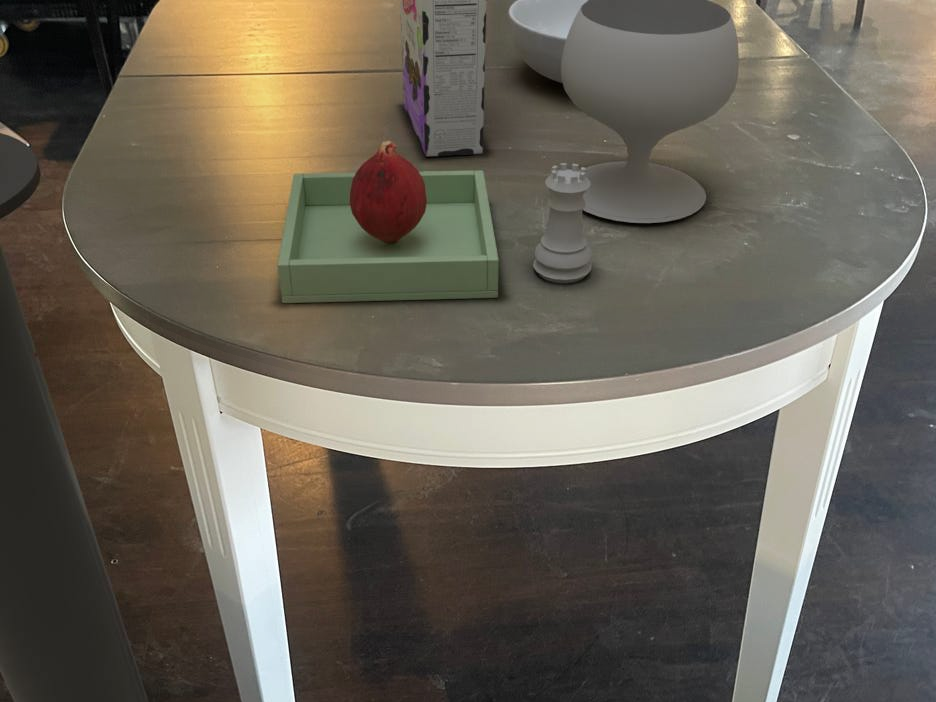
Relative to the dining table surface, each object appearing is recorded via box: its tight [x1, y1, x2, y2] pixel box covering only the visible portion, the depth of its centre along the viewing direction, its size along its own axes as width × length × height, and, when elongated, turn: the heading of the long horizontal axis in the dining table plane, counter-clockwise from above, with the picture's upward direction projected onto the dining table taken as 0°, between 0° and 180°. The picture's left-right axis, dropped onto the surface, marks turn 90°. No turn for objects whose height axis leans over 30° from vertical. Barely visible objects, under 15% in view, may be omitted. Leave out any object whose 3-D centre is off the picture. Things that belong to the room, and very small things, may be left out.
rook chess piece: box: [532, 162, 592, 284], centre depth 75 cm, size 4×4×8 cm
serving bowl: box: [507, 0, 589, 84], centre depth 108 cm, size 21×21×7 cm
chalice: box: [561, 0, 740, 224], centre depth 83 cm, size 14×14×15 cm
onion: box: [350, 140, 427, 244], centre depth 76 cm, size 6×6×8 cm
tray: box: [277, 170, 500, 304], centre depth 78 cm, size 16×16×3 cm
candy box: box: [399, 0, 488, 158], centre depth 94 cm, size 14×6×16 cm, turn 12°
